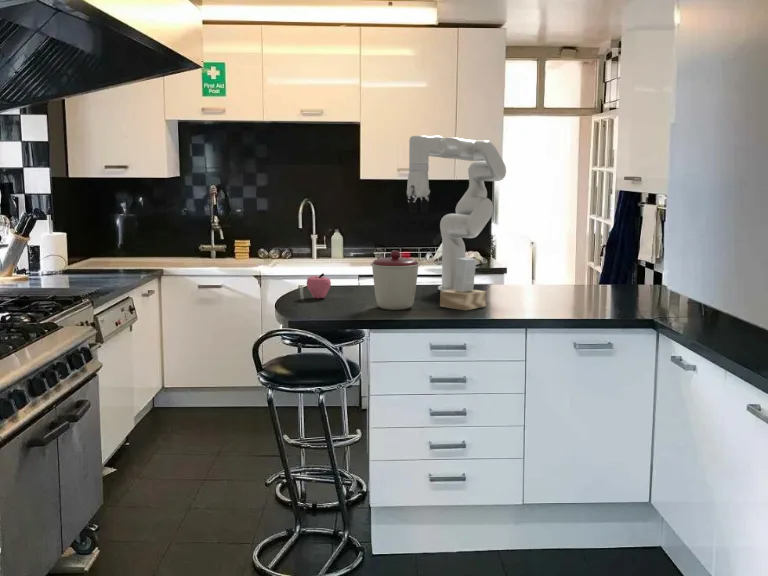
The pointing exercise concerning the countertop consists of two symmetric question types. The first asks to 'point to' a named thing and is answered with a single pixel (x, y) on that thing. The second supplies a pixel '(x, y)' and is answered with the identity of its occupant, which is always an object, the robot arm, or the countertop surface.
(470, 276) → the skincare box
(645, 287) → the countertop surface
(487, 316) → the countertop surface
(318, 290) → the apple
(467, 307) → the oak block
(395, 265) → the canister
